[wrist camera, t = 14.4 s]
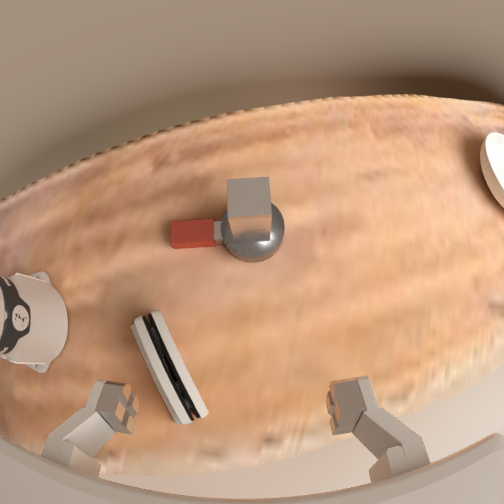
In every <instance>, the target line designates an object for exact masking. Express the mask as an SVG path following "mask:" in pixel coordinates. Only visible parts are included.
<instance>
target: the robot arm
mask: <svg viewBox="0 0 504 504" xmlns="http://www.w3.org/2000/svg"><path fill="white" fill-rule="evenodd" d="M67 332H68V317H67V311H66V307H65V304H64V301H63V299H62V297H61V295H60V294H59V292H58V291H57V290H56V289H55V288H54V287H53V286H52V284H51V282H50V279H49V276H48V274H47V273H46V272H43V271H40V272H37V273H34V274H31V275H28V276H27V275H24V274H20V273H15V275H11V276H9V277H8V278H5V277H3V276H1V275H0V357H1V358H3V359H8V361H9V362H13V363H17V364H25V365H26V366H28V367H30V368H32V369H33V370H35V371H37V372H39V373H45V372H46V371H47V369H48V367H49V365H50V363H51V361H52V360H54V359H55V358H56V357H57V356H58V355H59V354H60V352H61V351H62V349H63V347H64V345H65V342H66V338H67ZM329 388H330V391H329V392H328V393H327V410H328V413H329V414H330V415H331V416H332V417H331V420H330V425H331V430H332V435H337V434H344V433H350V432H353V434H354V435H355V436H356V437H357V438H358V439H359V440H360V442H362V443H363V445H364V446H365V447H366V448H367V449H368V450H369V451H370V452H371V453H372V454H373V455H374V456H375V457H376V458H377V459H378V461H377V462H376V463H375V464H374V465H373V466H372V467H371V468H370V470H369V474H370V479H371V483H369V484H365V485H360V486H356V487H351V488H347V489H342V490H336V491H331V492H325V493H318V494H311V495H303V496H294V497H282V498H265V499H223V498H205V497H194V496H185V495H177V494H169V493H163V492H157V491H151V490H146V489H141V488H137V487H132V486H127V485H124V484H119V483H116V482H112V481H108V480H105V479H101V478H98V475H99V471H100V467H101V466H100V464H99V463H98V462H96V461H95V460H94V459H92V457H93V456H94V455H95V454H96V453H97V452H98V451H99V450H100V449H101V448H102V447H103V446H104V445H105V443H106V442H107V441H108V440H109V439H110V438H111V437H112V436H113V435H114V434H115V432H121V433H127V434H132V433H133V429H134V425H135V420H134V418H133V417H134V416H135V415H136V414H137V413H138V409H139V401H138V397H137V396H136V394H135V393H133V392H132V391H131V390H132V388H131V386H130V385H129V384H126V383H118V382H111V381H105V380H97V381H96V382H95V383H94V386H93V388H92V390H91V393H90V395H89V398H88V400H87V403H86V406H85V408H81V409H80V410H79V411H77V412H76V413H75V414H74V415H72V416H71V417H70V418H68V419H67V420H66V421H65V422H63V423H62V424H61V425H60V426H58V427H57V428H56V429H54V430H53V431H52V432H51V433H49V436H48V438H47V441H46V444H45V446H44V449H43V452H42V455H41V456H40V455H38V454H36V453H34V452H31V451H29V450H27V449H25V448H23V447H21V446H19V445H18V444H16V443H14V442H12V441H10V440H8V439H7V438H5V437H3V436H1V435H0V504H504V436H503V435H501V434H499V433H493V434H490V435H488V436H487V437H485V438H483V439H481V440H479V441H477V442H476V443H474V444H472V445H470V446H468V447H466V448H464V449H462V450H460V451H458V452H455V453H453V454H451V455H449V456H447V457H445V458H442V459H440V460H437V461H435V462H433V463H430V461H429V458H428V455H427V452H426V449H425V446H424V443H423V441H422V437H420V436H419V435H418V434H416V433H415V432H414V431H412V430H411V429H410V428H409V427H407V426H406V425H405V424H403V423H402V422H401V421H399V420H398V419H397V418H395V417H394V416H393V415H392V414H390V413H389V412H388V411H386V410H385V409H384V408H379V405H378V402H377V399H376V396H375V393H374V390H373V387H372V385H371V382H370V379H369V377H368V376H361V377H356V378H355V377H354V378H348V379H343V380H336V381H331V382H330V385H329Z"/></svg>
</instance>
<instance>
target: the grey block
mask: <svg viewBox="0 0 504 504" xmlns="http://www.w3.org/2000/svg"><path fill="white" fill-rule="evenodd" d="M227 207H228V220H229V224H230V227H231V231H232V234H233V238H234V241H235V243H245V242H262V241H270V233H271V220H272V210H271V198H270V187H269V177H259V178H242V179H228V180H227Z"/></svg>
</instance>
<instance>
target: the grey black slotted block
mask: <svg viewBox="0 0 504 504" xmlns="http://www.w3.org/2000/svg"><path fill="white" fill-rule="evenodd" d="M150 313H151V314H148V316H149V319H150V322H151V324H152V326H153V327H152V328H150V327H149V325H148V322H147V320H146V317H145V316H143V317H142V316H141V315H140V316H139V317H137V318H136V319H134V324H133V325H132V326H131V329H132V332H133V334H134V337H135V339H136V341H137V344H138V346H139V349H140V351H141V353H142V356H143V358H144V360H145V362H146V365H147V367H148V369H149V371H150V373H151V375H152V378H153V380H154V382H155V384H156V386H157V388H158V390H159V392H160V394H161V396H162V398H163V400H164V402H165V404H166V406H167V408H168V410H169V412H170V413H171V415H172V417H173V419H174V421H175V423H176V424H183V425H186V424H190V423H192V421H193V420H194V418H193V416H192V415H191V413H190V411H189V408H192V410H193V412H194V414H195V416H196V417H197V418H199V417H200V418H201V419H202V418H204V417H205V416H206V415H208V414H209V412H208V410H207V408H206V406H205V404H204V402H203V400H202V398H201V396H200V394H199V392H198V390H197V388H196V386H195V384H194V382H193V380H192V378H191V376H190V374H189V372H188V370H187V368H186V366H185V364H184V362H183V360H182V358H181V356H180V354H179V351H178V349H177V347H176V345H175V343H174V341H173V339H172V337H171V334H170V332H169V330H168V328H167V326H166V323H165V321H164V319H163V317H162V315H161V312H160V310H157V311H151V312H150ZM163 356H166V357H167V359H168V361H169V364H170V366H171V368H172V370H173V372H174V374H175V376H176V378H177V380H178V381H177V382H174V380H173V378H172V376H171V374H170V372H169V370H168V368H167V366H166V363H165V361H164V359H163Z"/></svg>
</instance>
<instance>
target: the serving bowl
mask: <svg viewBox="0 0 504 504" xmlns="http://www.w3.org/2000/svg"><path fill="white" fill-rule="evenodd" d="M480 163H481V168H482V172H483V175H484V178H485V181H486V183H487V185H488V187H489V189H490V191H491V192H492V194H493V196H494V197H495V198H496V200H497V201H498V202H499V204H500V205H501V206H502V207H503V208H504V135H502V134H500V133H497V132H491V133H489V134H488V135H487V136H486V138H485V139H484V141H483V143H482V146H481V151H480Z"/></svg>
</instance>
